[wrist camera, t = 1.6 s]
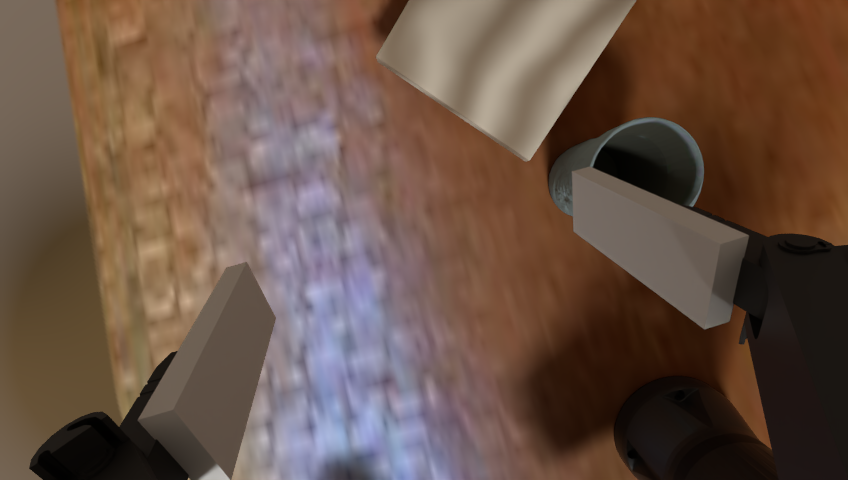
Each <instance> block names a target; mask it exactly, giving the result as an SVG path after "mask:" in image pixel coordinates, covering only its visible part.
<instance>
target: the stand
mask: <svg viewBox="0 0 848 480" xmlns="http://www.w3.org/2000/svg"><path fill="white" fill-rule="evenodd" d="M635 2H636V0H409V1H408V3H407V5H406V6H405V8H404V10H403V12H402V13H401V15H400V17H399V18H398V20H397V22H396V24H395V25H394V27H393V29H392V30H391V32H390V34H389V36H388V37H387V39H386V41H385V42H384V44H383V46H382V48H381V49H380V51H379V53H378V54H377V56H376V58H377V61H378V62H379V63H380V64H382V65H383V66H384V67H386V68H387V69H389V70H390V71H392V72H393V73H395V74H396V75H398V76H399V77H401V78H402V79H404V80H405V81H407V82H408V83H410V84H411V85H413V86H414V87H416V88H417V89H419V90H420V91H422V92H423V93H425V94H426V95H427V96H429V97H430V98H432V99H433V100H435V101H436V102H438V103H439V104H441V105H442V106H444V107H445V108H447V109H448V110H450V111H451V112H453V113H454V114H456V115H457V116H459V117H460V118H462V119H463V120H465V121H466V122H467V123H469V124H470V125H472V126H473V127H475V128H476V129H478V130H479V131H481V132H482V133H484V134H485V135H487V136H488V137H490V138H491V139H493V140H494V141H496V142H497V143H499V144H500V145H502V146H503V147H505V148H506V149H507V150H509V151H510V152H512V153H513V154H515V155H516V156H518V157H519V158H521V159H522V160H524V161H530V159H531V158H532V156H533V155H534V153H535V152H536V150H537V149H538V147H539V146H540V144H541V143H542V141H543V140H544V138H545V137H546V135H547V134H548V132H549V131H550V129H551V128H552V126H553V125H554V123H555V122H556V120H557V119H558V117H559V116H560V114H561V113H562V111H563V110H564V108H565V107H566V105H567V104H568V102H569V101H570V99H571V98H572V96H573V95H574V93H575V92H576V90H577V89H578V87H579V86H580V84H581V83H582V81H583V80H584V78H585V77H586V75H587V74H588V72H589V71H590V69H591V68H592V66H593V65H594V63H595V62H596V60H597V59H598V57H599V56H600V54H601V53H602V51H603V50H604V48H605V47H606V45H607V44H608V42H609V41H610V39H611V38H612V36H613V35H614V33H615V32H616V30H617V29H618V27H619V26H620V24H621V23H622V21H623V20H624V18H625V17H626V15H627V14H628V12H629V11H630V9H631V8H632V6H633V5H634V3H635Z"/></svg>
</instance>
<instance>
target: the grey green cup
mask: <svg viewBox="0 0 848 480" xmlns="http://www.w3.org/2000/svg"><path fill="white" fill-rule="evenodd" d="M586 167H592V168H594V169H596V170H599V171H601V172H603V173H606V174H608V175H610V176H613V177H615V178H617V179H620V180H622V181H624V182H627V183H629V184H631V185H634V186H636V187H638V188H640V189H643V190H645V191H647V192H650V193H652V194H654V195H657V196H659V197H661V198H664V199H666V200H668V201H671V202H673V203H675V204H682V205H686V206H691V207H693V206H694V204H695V202H696V201H697V199H698V196H699V194H700V192H701V188H702V184H703V178H704V163H703V159H702V155H701V152H700V149H699V147H698V145H697V143H696V142H695V140H694V139H693V137H692V136H691V135H690V134H689V133H688V132H687V131H686V130H685V129H683V128H682V127H681V126H680V125H678V124H676V123H674V122H672V121H669V120H666V119H662V118H656V117H646V118H639V119H635V120H632V121H628V122H626V123H624V124H622V125H620V126H618V127H616V128H613V129H611V130H609V131H607V132H605V133H604V134H602V135H601V136H600V137H598V138H595V139H589V140H588V141H585V142H582V143H580V144H578V145H576V146H573V147H571V148H570V149H568V150H566V151H565V152H564V153H563V154H561V155H560V156H559V157H558V158H557V159H556V161H555V163H554V165H553V167H552V168H551V172H550V173H549V190H550V194H551V197H552V199H553V201H554V203H555V204H556V205H557V207H558V208H559V209H560V210H562V211H563V212H564V213H566V214H568V215H570V216H573V192H572V171H576V170H579V169H583V168H586Z"/></svg>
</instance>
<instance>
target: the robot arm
mask: <svg viewBox="0 0 848 480" xmlns="http://www.w3.org/2000/svg"><path fill="white" fill-rule="evenodd" d="M572 192H573V229H574V232H575V233H576V234H578V235H579V236H580V237H582V238H583V239H584V240H586V241H587V242H588V243H590V244H591V245H592V246H594V247H595V248H596V249H598V250H599V251H600V252H602V253H603V254H604V255H606V256H607V257H608V258H610V259H611V260H612V261H614V262H615V263H616V264H618V265H619V266H620V267H622V268H623V269H624V270H626V271H627V272H628V273H630V274H631V275H632V276H634V277H635V278H636V279H638V280H639V281H640V282H642V283H643V284H644V285H646V286H647V287H648V288H650V289H651V290H652V291H654V292H655V293H656V294H658V295H659V296H660V297H662V298H663V299H664V300H666V301H667V302H668V303H670V304H671V305H672V306H674V307H675V308H676V309H678V310H679V311H680V312H682V313H683V314H684V315H686V316H687V317H688V318H690V319H691V320H692V321H694V322H695V323H696V324H698V325H699V326H700V327H702V328H703V329H704V330H705V329H708V328H711V327H714V326H717V325H720V324H724V323H727V322H730V318H731V313H732V309H733V304H735V305H737V306H739V307H740V308H742V309H743V310H745V311H746V315H745V319H744V323H743V327H742V331H741V335H740V340H739V344H744V343H745V339H748V343H749V348H750V352H751V357H752V361H753V366H754V370H755V375H756V379H757V384H758V388H759V393H760V397H761V402H762V406H763V411H764V416H765V420H766V425H767V429H768V434H769V438H770V443H771V447H772V450H771V449H770V448H769V447H767V446H766V445H765V444H763V443H762V442H761V441H760V440H759V439H758V438H757V437H756V435H755V434H754V433H753V431H752V430H751V429H750V427H749V426H748V425H747V423H746V422H745V420H744V419H743V418H742V416H741V415H740V414H739V412H738V411H737V410H736V408H735V407H734V406H733V404H732V403H731V402H730V401H729V400H728V399H727V398H726V397H725V396H723V395H722V394H721V393H719V392H718V391H717V390H715V389H714V388H712V387H711V386H709V385H708V384H706V383H704V382H702V381H700V380H698V379H694V378H690V377H684V376H673V377H666V378H662V379H658V380H655V381H653V382H651V383H649V384H647V385H645V386H643V387H642V388H640V389H639V390H638V391H636V392H635V393H634V394H633V395H632V396H631V397H630V398H629V399H628V400H627V401H626V403H625V404H624V406H623V407H622V409H621V411H620V413H619V415H618V418H617V421H616V425H615V432H614V437H615V444H616V448H617V451H618V453H619V455H620V457H621V459H622V460H623V462H624V463H625V464H626V466H627V467H628V468H629V470H630V471H631V472H632V474H633V475H634V476H635V477H636V478H637V479H638V480H848V245H842V246H834V245H832V244H831V243H829V242H827V241H825V240H822V239H820V238H816V237H812V236H808V235H800V234H778V235H773V236H770V237H766V236H764V235H761V234H759V233H757V232H754V231H752V230H749V229H747V228H745V227H742V226H740V225H737V224H735V223H733V222H730V221H728V220H727V221H725V220H724V219H723V218H721V217H718V216H716V215H714V216H713V215H712V214H711V213H709V212H706V211H704V210H701V209H699V208H696V207H691V206H686V205H682V204H675V203H673V202H671V201H668V200H666V199H664V198H661V197H659V196H657V195H654V194H652V193H650V192H647V191H645V190H643V189H640V188H638V187H636V186H634V185H631V184H629V183H627V182H624V181H622V180H620V179H617V178H615V177H613V176H610V175H608V174H606V173H603V172H601V171H599V170H596V169H594V168H592V167H586V168H583V169H579V170H576V171H572ZM275 319H276V317H275V315H274V313H273V312H272V310H271V308H270V306H269V304H268V302H267V300H266V298H265V296H264V294H263V292H262V290H261V288H260V286H259V285H258V283H257V281H256V279H255V277H254V275H253V273H252V271H251V269H250V267H249V265H248V263H247V262H245V263H242V264H238V265H234V266H231V267H227V268H226V269H225V271H224V273H223V275H222V276H221V278H220V280H219V281H218V283H217V285H216V287H215V288H214V290H213V292H212V293H211V295H210V297H209V299H208V300H207V302H206V304H205V305H204V307H203V309H202V311H201V312H200V314H199V316H198V317H197V319H196V321H195V323H194V324H193V326H192V328H191V329H190V331H189V333H188V335H187V336H186V338H185V340H184V341H183V343H182V345H181V346H180V348H179V350H178V351H176V352H172V353H170V354H169V355H168V356H167V357H166V358H165V359H164V360H163V361H162V362H161V363H160V364H159V365H158V366H157V367H156V369H155V370H154V372H153V374H152V375H151V377H150V378H149V380H148V382H147V383H148V384H147V385H145V386H144V388H143V390H142V391H141V393H140V397H138V398H137V399H136V401H135V402H134V404H133V406H132V407H131V409H130V410H129V412H128V414H127V415H126V417H125V419H124V420H123V422H122V423H121V425H120V427H118V426H117V425H116V423H115V422H114V421H112V419H111V418H110V417H109V416H108V415H107V414H105V413H103V412H94V413H90V414H88V415H85V416H82V417H80V418H78V419H76V420H74V421H73V422H71V423H69V424H67V425H66V426H64V427H63V428H61V429H60V430H59V431H57V432H56V433H55V434H54V435H52V436H51V437H50V438H49V439H48V440H47V441H46V442H45V443H44V444H43V445H42V446H41V447H40V448H39V449H38V451H37V452H36V454H35V455H34V456H33V458H32V459H31V463H30V468H29V469H31V470H32V471H33V472H34V473H35V474H37V475H38V476H39V477H40V478H42V479H43V480H187V479H188V477H189V478H190V479H191V480H231V478H232V475H233V471H234V468H235V464H236V460H237V457H238V453H239V450H240V446H241V442H242V439H243V435H244V432H245V428H246V424H247V421H248V417H249V413H250V410H251V406H252V403H253V399H254V395H255V392H256V388H257V385H258V381H259V377H260V374H261V370H262V366H263V363H264V359H265V356H266V352H267V348H268V345H269V341H270V338H271V334H272V330H273V327H274V323H275Z"/></svg>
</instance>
